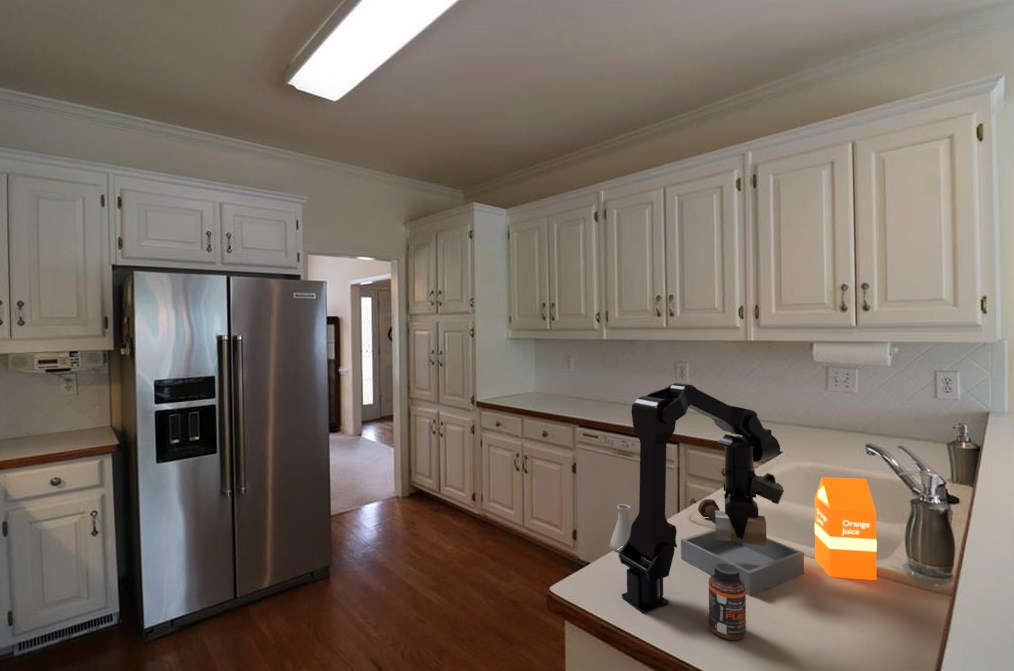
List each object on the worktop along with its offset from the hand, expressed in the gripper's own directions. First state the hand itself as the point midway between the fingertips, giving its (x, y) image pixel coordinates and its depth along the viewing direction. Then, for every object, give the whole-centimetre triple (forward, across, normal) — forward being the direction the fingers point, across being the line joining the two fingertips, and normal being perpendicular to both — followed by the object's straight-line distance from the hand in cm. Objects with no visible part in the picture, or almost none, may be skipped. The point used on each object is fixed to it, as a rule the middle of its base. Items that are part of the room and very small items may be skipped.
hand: (739, 534), depth 108 cm
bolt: (+8, +21, +4) cm, 23 cm away
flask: (+8, +1, +26) cm, 27 cm away
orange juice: (+7, +6, -21) cm, 23 cm away
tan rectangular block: (+1, 0, 0) cm, 1 cm away
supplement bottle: (+8, -26, +3) cm, 27 cm away
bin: (+7, 0, 0) cm, 7 cm away
